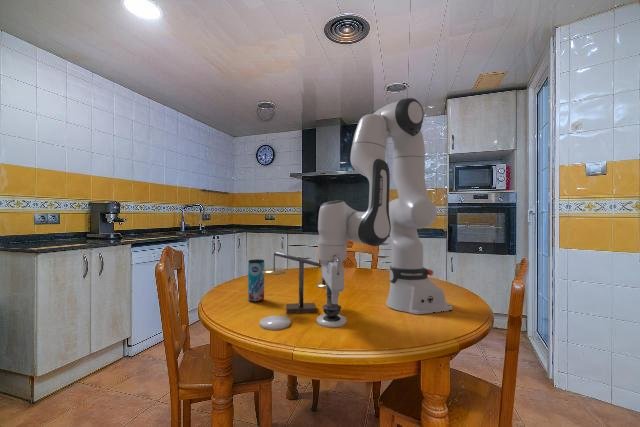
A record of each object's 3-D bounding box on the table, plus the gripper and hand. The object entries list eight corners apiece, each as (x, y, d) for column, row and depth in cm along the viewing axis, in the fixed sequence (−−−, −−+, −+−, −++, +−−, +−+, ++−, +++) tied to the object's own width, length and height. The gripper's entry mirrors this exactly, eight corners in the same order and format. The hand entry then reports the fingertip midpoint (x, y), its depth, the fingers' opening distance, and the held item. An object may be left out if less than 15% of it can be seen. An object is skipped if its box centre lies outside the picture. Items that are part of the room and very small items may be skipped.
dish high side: (289, 318, 96) (289, 315, 96) (290, 329, 88) (290, 325, 87) (260, 319, 95) (260, 316, 95) (258, 330, 86) (258, 326, 86)
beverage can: (246, 302, 112) (246, 261, 112) (250, 298, 118) (250, 259, 118) (262, 302, 112) (262, 262, 112) (265, 298, 118) (265, 259, 118)
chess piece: (339, 322, 90) (340, 282, 90) (320, 321, 91) (320, 280, 91) (342, 316, 96) (343, 277, 96) (324, 314, 97) (324, 276, 97)
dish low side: (342, 316, 99) (343, 313, 99) (349, 327, 90) (349, 323, 90) (315, 317, 97) (315, 314, 97) (318, 328, 89) (318, 324, 89)
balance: (336, 305, 110) (337, 249, 110) (341, 312, 102) (342, 252, 102) (262, 307, 107) (262, 250, 107) (260, 315, 99) (261, 253, 99)
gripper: (350, 258, 84) (349, 309, 84) (336, 249, 104) (336, 290, 104) (327, 258, 83) (326, 310, 83) (317, 249, 103) (317, 290, 103)
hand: (331, 298), depth 94 cm, fingers open, 8 cm apart
